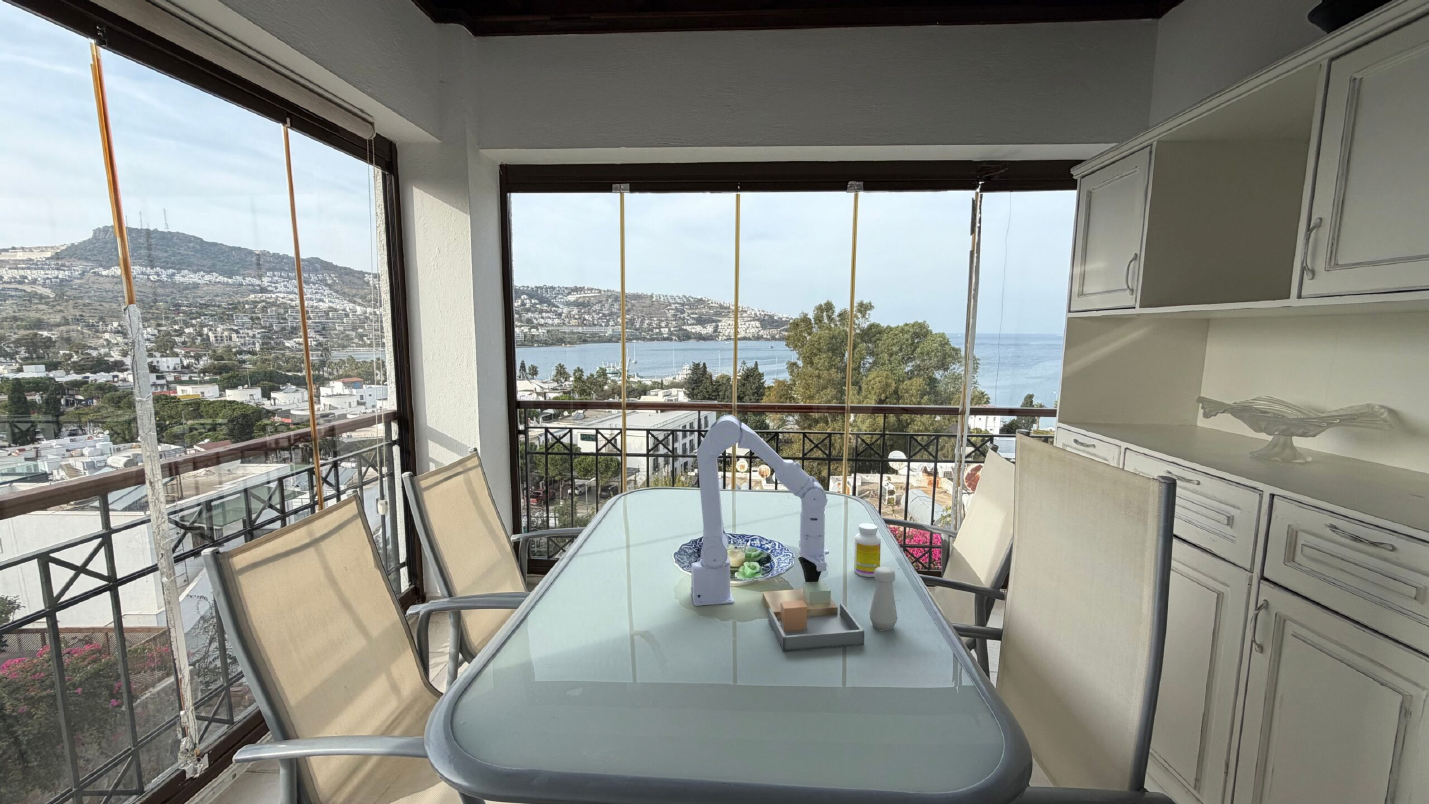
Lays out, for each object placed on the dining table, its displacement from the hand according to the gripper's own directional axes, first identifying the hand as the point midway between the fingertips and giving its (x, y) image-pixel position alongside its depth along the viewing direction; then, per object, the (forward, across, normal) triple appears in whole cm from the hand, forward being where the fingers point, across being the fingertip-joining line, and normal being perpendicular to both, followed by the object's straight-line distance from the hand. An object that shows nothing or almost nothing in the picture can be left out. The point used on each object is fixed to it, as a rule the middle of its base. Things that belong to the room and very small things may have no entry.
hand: (811, 587), depth 133 cm
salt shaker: (+3, -14, -11) cm, 19 cm away
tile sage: (+1, -4, 0) cm, 4 cm away
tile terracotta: (0, -11, +8) cm, 13 cm away
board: (+3, -3, +4) cm, 6 cm away
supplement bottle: (+3, +13, -20) cm, 23 cm away
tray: (+3, -15, +4) cm, 15 cm away
